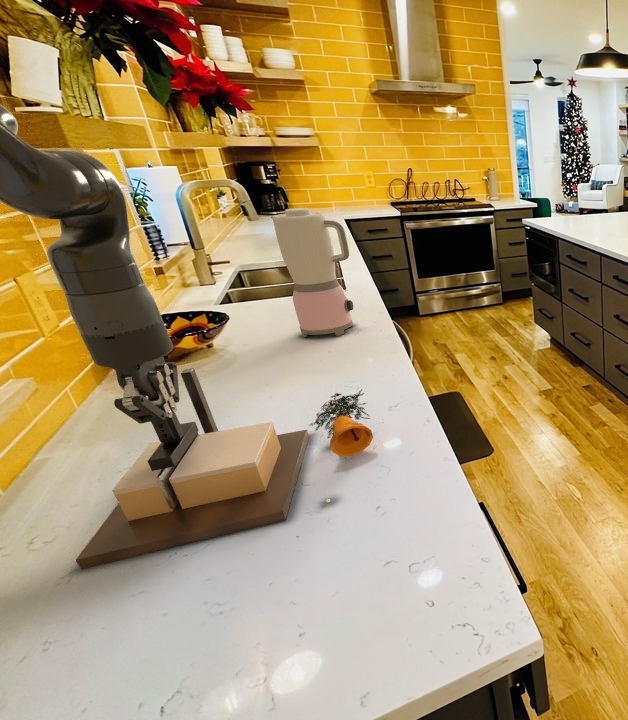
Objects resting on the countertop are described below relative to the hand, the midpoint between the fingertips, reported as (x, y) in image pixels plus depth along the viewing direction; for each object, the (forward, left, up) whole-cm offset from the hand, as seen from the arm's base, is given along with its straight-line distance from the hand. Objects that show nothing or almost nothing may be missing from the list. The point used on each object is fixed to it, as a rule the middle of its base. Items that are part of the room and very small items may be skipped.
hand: (173, 439), depth 70 cm
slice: (-3, 0, -8) cm, 8 cm away
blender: (+12, +70, -9) cm, 72 cm away
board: (+2, 0, -9) cm, 10 cm away
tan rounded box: (+5, 0, -8) cm, 9 cm away
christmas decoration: (+20, +1, -9) cm, 22 cm away
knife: (0, 0, -7) cm, 7 cm away
